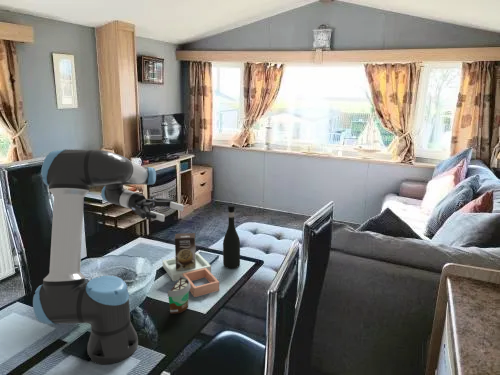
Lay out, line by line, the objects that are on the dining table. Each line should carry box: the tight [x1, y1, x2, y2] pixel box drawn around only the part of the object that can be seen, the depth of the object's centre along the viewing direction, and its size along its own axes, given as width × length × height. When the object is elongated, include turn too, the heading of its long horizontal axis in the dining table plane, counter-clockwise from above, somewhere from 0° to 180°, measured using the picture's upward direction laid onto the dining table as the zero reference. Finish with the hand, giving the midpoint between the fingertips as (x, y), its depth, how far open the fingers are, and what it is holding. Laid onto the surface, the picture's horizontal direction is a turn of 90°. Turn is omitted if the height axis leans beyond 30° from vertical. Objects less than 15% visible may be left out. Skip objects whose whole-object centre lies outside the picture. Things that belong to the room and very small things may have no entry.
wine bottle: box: [222, 204, 241, 270], centre depth 168 cm, size 8×8×30 cm
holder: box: [183, 268, 220, 298], centre depth 153 cm, size 11×14×4 cm
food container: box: [167, 276, 191, 315], centre depth 137 cm, size 12×6×10 cm, turn 168°
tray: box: [162, 252, 212, 282], centre depth 168 cm, size 18×16×3 cm
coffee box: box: [174, 232, 196, 271], centre depth 165 cm, size 9×6×16 cm
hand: (173, 213), depth 150 cm, fingers open, 13 cm apart
